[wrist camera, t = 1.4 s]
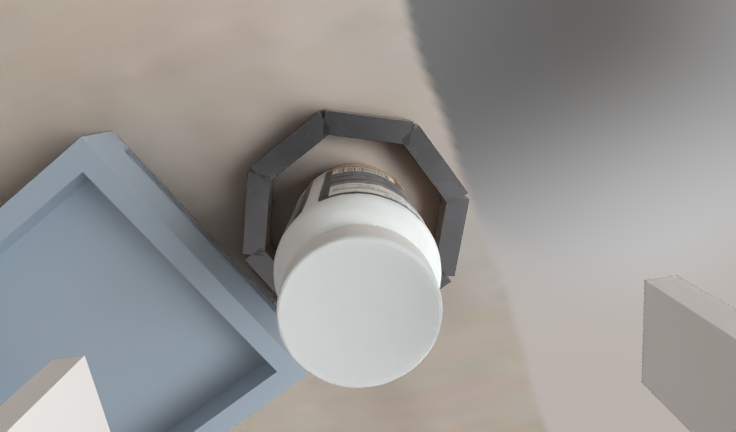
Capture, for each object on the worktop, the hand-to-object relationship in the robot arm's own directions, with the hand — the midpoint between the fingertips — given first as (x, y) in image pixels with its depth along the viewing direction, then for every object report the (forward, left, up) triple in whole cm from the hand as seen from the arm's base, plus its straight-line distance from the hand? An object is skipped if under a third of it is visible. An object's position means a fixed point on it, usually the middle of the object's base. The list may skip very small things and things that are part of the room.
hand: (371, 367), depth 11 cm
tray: (-3, -14, -12) cm, 18 cm away
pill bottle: (0, 0, -12) cm, 12 cm away
